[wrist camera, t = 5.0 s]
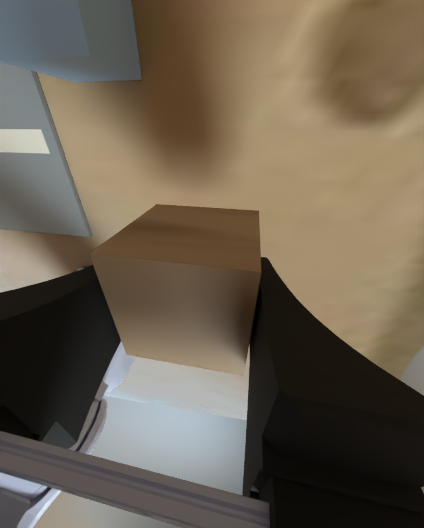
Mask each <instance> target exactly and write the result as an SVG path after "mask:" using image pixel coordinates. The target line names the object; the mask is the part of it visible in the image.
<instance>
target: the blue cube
mask: <svg viewBox="0 0 424 528" xmlns="http://www.w3.org/2000/svg"><path fill="white" fill-rule="evenodd" d="M0 62H2V63H6V64H9V65H13V66H17V67H20V68H24V69H27V70H31V71H35V72H38V73H42V74H46V75H49V76H53V77H56V78H60V79H64V80H67V81H71V82H87V81H122V80H142V77H141V69H140V62H139V54H138V47H137V39H136V32H135V24H134V17H133V9H132V2H131V0H0Z"/></svg>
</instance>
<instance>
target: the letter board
mask: <svg viewBox="0 0 424 528" xmlns="http://www.w3.org/2000/svg"><path fill="white" fill-rule="evenodd" d="M0 229H8V230H18V231H29V232H39V233H50V234H60V235H71V236H81V237H90V236H92V234H91V232H90V229H89V226H88V223H87V220H86V217H85V214H84V211H83V208H82V205H81V202H80V199H79V196H78V193H77V190H76V187H75V185H74V182H73V179H72V176H71V173H70V170H69V167H68V164H67V161H66V158H65V155H64V152H63V149H62V146H61V143H60V141H59V138H58V135H57V132H56V129H55V126H54V123H53V120H52V117H51V114H50V111H49V108H48V105H47V102H46V99H45V96H44V94H43V91H42V88H41V85H40V82H39V79H38V76H37V73H36V72H35V71H31V70H27V69H24V68H20V67H17V66H13V65H9V64H6V63H2V62H0Z"/></svg>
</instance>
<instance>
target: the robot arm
mask: <svg viewBox="0 0 424 528" xmlns="http://www.w3.org/2000/svg"><path fill="white" fill-rule="evenodd" d="M249 344H250V369H249V391H248V410H247V429H246V446H245V462H244V479H243V495H238V494H234V493H230V492H227V491H223V490H219V489H215V488H212V487H208V486H204V485H200V484H196V483H193V482H189V481H186V480H182V479H178V478H174V477H170V476H166V475H163V474H159V473H155V472H151V471H148V470H144V469H141V468H137V467H133V466H129V465H125V464H122V463H118V462H114V461H110V460H106V459H103V458H99V457H95V456H92V455H90V454H91V452H92V450H93V449H94V447H95V445H96V443H97V441H98V439H99V436H100V434H101V432H102V430H103V427H104V424H105V420H106V409H107V402H106V399H104V398H103V395H104V394H106V393H108V392H110V391H111V390H113V389H114V388H115V387H116V386H118V385H119V384H120V383H121V382H122V380H123V379H124V378H125V376H126V375H127V373H128V371H129V369H130V367H131V365H132V364H133V362H134V360H135V358H136V356H131V355H126V352H125V349H124V347H123V344H122V341H121V339H120V336H119V333H118V331H117V328H116V325H115V323H114V320H113V317H112V315H111V312H110V309H109V306H108V304H107V301H106V298H105V296H104V293H103V290H102V288H101V285H100V282H99V280H98V277H97V274H96V271H95V269H94V266H93V265H91V266H88V267H86V268H79V269H77V271H76V272H73V273H70V274H67V275H64V276H61V277H58V278H55V279H52V280H49V281H45V282H41V283H38V284H34V285H30V286H26V287H23V288H19V289H15V290H10V291H6V292H1V293H0V528H33V526H34V525H35V524H36V522H37V521H38V519H39V518H40V517H41V515H42V514H43V513H44V512H45V510H46V509H47V508H48V506H49V505H50V504H51V503H52V501H53V500H54V499H55V498H56V497H57V495H58V494H59V493H60V492H62V491H63V492H67V493H70V494H73V495H77V496H80V497H83V498H86V499H90V500H93V501H96V502H100V503H103V504H106V505H109V506H113V507H116V508H120V509H123V510H126V511H129V512H133V513H136V514H139V515H143V516H146V517H150V518H152V519H156V520H159V521H162V522H166V523H169V524H173V525H176V526H179V527H182V528H424V494H423V491H422V489H421V487H423V486H424V396H423V395H422V394H420V393H419V392H417V391H415V390H414V389H412V388H411V387H409V386H408V385H406V384H405V383H403V382H402V381H400V380H399V379H397V378H395V377H394V376H392V375H391V374H389V373H388V372H386V371H385V370H383V369H382V368H380V367H378V366H377V365H376V364H374V363H373V362H371V361H370V360H368V359H367V358H366V357H364V356H363V355H361V354H360V353H359V352H357V351H356V350H355V349H353V348H352V347H350V346H349V345H348V344H347V343H345V342H344V341H343V340H341V339H340V338H339V337H338V336H336V335H335V334H334V333H333V332H332V331H330V330H329V329H328V328H327V327H326V326H324V325H323V324H322V323H321V322H320V321H319V320H318V319H316V318H315V317H314V316H313V315H312V314H311V313H310V312H309V311H308V310H307V309H306V308H305V307H304V306H303V305H302V304H301V303H300V302H299V301H298V300H297V299H296V297H295V296H294V295H293V294H292V293H291V291H290V290H289V289H288V288H287V286H286V285H285V284H284V282H283V281H282V280H281V278H280V277H279V275H278V274H277V272H276V271H275V269H274V268H273V266H272V264H271V263H270V261H269V260H268V258H265V257H261V277H260V283H259V288H258V294H257V300H256V306H255V312H254V318H253V324H252V329H251V335H250V341H249Z"/></svg>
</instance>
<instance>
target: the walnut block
mask: <svg viewBox="0 0 424 528" xmlns="http://www.w3.org/2000/svg"><path fill="white" fill-rule="evenodd" d="M89 255H90V258H91V261H92V263H93V266H94V269H95V271H96V274H97V277H98V280H99V282H100V285H101V288H102V290H103V293H104V296H105V298H106V301H107V304H108V306H109V309H110V312H111V315H112V317H113V320H114V323H115V325H116V328H117V331H118V333H119V336H120V339H121V341H122V344H123V347H124V349H125V352H126V355H131V356H137V357H142V358H148V359H153V360H159V361H164V362H170V363H176V364H181V365H187V366H192V367H198V368H203V369H209V370H214V371H220V372H225V373H231V374H236V375H242V376H244V371H245V365H246V359H247V353H248V347H249V341H250V335H251V329H252V324H253V318H254V312H255V306H256V300H257V294H258V288H259V283H260V277H261V253H260V228H259V211H254V210H238V209H222V208H206V207H191V206H175V205H159V204H157V205H155V206H154V207H152V208H151V209H150V210H148V211H147V212H146V213H144V214H143V215H141V216H140V217H139V218H137V219H136V220H135V221H133V222H132V223H130V224H129V225H128V226H126V227H125V228H124V229H122V230H121V231H119V232H118V233H117V234H115V235H114V236H113V237H111V238H110V239H108V240H107V241H106V242H104V243H103V244H102V245H100V246H99V247H98V248H96V249H95V250H93V251H92V252H91V253H89Z"/></svg>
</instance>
